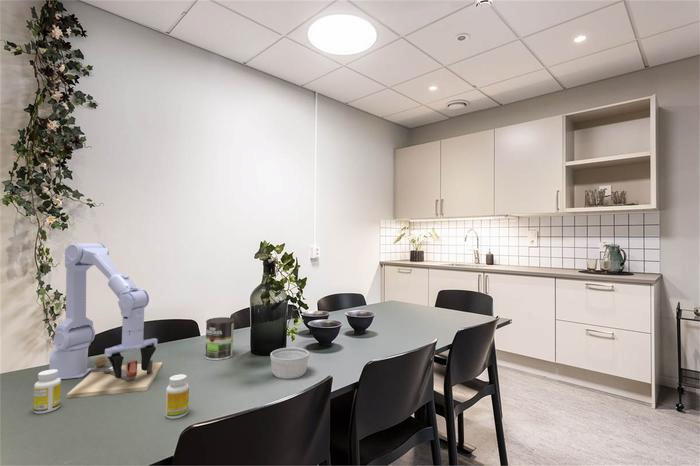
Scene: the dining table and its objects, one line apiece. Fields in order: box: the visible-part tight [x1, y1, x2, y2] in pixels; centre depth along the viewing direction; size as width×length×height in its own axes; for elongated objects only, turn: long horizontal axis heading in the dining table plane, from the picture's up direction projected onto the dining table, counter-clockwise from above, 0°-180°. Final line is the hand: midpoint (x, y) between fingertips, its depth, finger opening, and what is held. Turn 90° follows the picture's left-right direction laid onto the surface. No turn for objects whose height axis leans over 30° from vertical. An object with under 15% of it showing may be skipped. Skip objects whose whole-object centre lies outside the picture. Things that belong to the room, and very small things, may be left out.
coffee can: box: [204, 316, 235, 361], centre depth 137 cm, size 10×10×14 cm
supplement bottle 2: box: [164, 373, 190, 420], centre depth 91 cm, size 5×5×10 cm
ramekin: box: [269, 347, 310, 380], centre depth 120 cm, size 13×13×7 cm
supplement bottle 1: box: [32, 369, 62, 415], centre depth 92 cm, size 5×5×10 cm
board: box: [66, 356, 163, 399], centre depth 112 cm, size 20×22×5 cm
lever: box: [104, 359, 138, 381], centre depth 112 cm, size 16×4×6 cm, turn 58°
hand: (131, 373), depth 109 cm, fingers open, 7 cm apart
